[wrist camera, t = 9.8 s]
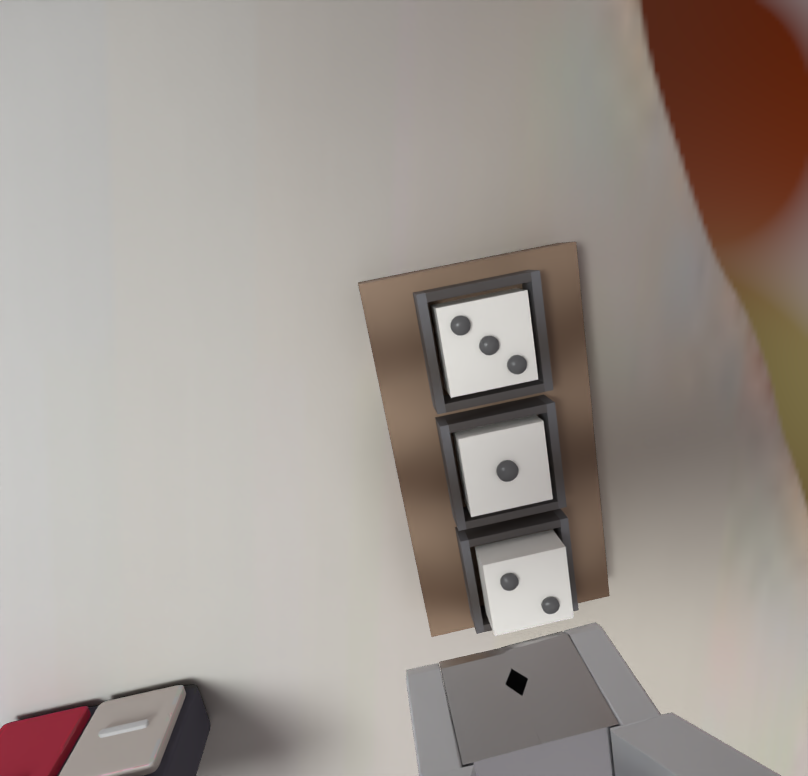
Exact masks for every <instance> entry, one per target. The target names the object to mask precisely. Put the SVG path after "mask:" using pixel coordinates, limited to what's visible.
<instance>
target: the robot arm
mask: <svg viewBox="0 0 808 776" xmlns="http://www.w3.org/2000/svg"><path fill="white" fill-rule="evenodd" d="M439 663H440V667H439ZM439 663H436V664H431V665H427V666H422V667H418V668H413V669H408V670H406V684H407V691H408V698H409V706H410V713H411V720H412V728H413V735H414V742H415V749H416V757H417V764H418V771H419V776H781V775H779V774H778V773H776V772H774V771H772V770H771V769H769V768H767V767H766V766H764V765H762V764H760V763H759V762H757V761H755V760H753V759H752V758H750V757H748V756H747V755H745V754H743V753H741V752H740V751H738V750H736V749H734V748H733V747H731V746H729V745H728V744H726V743H724V742H722V741H721V740H719V739H717V738H715V737H714V736H712V735H710V734H709V733H707V732H705V731H703V730H702V729H700V728H698V727H696V726H695V725H693V724H691V723H690V722H688V721H686V720H684V719H683V718H681V717H679V716H677V715H676V714H674V713H667V714H662V715H661V714H660V712H659V711H658V709H657V708H656V706H655V705H654V703H653V702H652V700H651V699H650V697H649V696H648V694H647V693H646V691H645V690H644V689H643V687H642V686H641V684H640V683H639V681H638V680H637V678H636V677H635V675H634V674H633V672H632V671H631V669H630V668H629V666H628V665H627V663H626V662H625V660H624V659H623V658H622V656H621V655H620V653H619V652H618V650H617V649H616V647H615V646H614V644H613V643H612V641H611V640H610V638H609V637H608V635H607V634H606V632H605V631H604V630H603V628H602V627H601V626H600V625H599V624H597V623H596V622H595V623H591V624H587V625H584V626H580V627H576V628H572V629H569V630H565V631H564V632H562V631H561V632H557V633H554V634H550V635H546V636H542V637H538V638H535V639H531V640H527V641H523V642H520V643H516V644H512V645H508V646H504V647H501V648H499V649H494V650H490V651H485V652H481V653H476V654H472V655H468V656H463V657H459V658H454V659H450V660H445V661H441V662H439ZM440 668H441V671H440ZM441 673H442V675H441ZM442 678H443V680H442ZM443 682H444V684H443ZM444 687H445V688H444ZM445 691H446V693H445ZM446 696H447V697H446ZM447 700H448V701H447ZM449 709H450V710H449Z"/></svg>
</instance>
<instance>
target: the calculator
mask: <svg viewBox="0 0 808 776" xmlns="http://www.w3.org/2000/svg"><path fill="white" fill-rule="evenodd" d="M209 730H210V721H209V718H208V716H207V713H206V710H205V707H204V704H203V701H202V698H201V696H200V693H199V690H198V688H197V686H196V685H189V686H183V685H176V686H172V687H167V688H163V689H158V690H154V691H149V692H145V693H140V694H136V695H131V696H127V697H122V698H118V699H113V700H109V701H105V702H103V703H101V704H100V705H98V706H94V707H89V708H88V706H82V707H77V708H73V709H68V710H64V711H59V712H55V713H50V714H46V715H41V716H37V717H32V718H28V719H23V720H19V721H14V722H10V723H7V724H5V725H4V726H2V728H1V729H0V776H196V773H197V770H198V767H199V763H200V760H201V757H202V754H203V750H204V747H205V744H206V740H207V737H208V734H209Z"/></svg>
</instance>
